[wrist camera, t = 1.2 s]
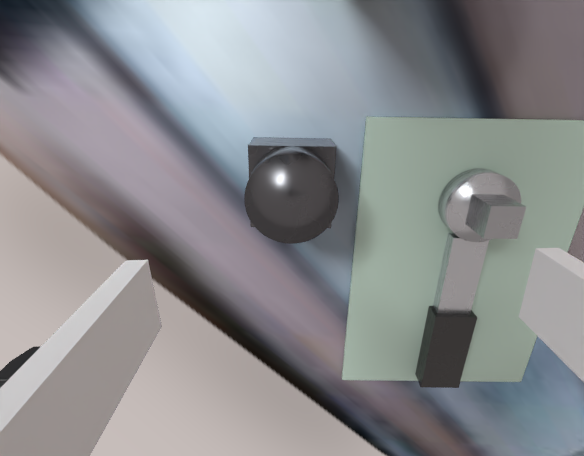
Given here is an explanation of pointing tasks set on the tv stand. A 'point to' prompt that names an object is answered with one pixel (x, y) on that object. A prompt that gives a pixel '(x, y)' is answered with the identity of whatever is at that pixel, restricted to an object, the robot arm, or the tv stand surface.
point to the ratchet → (464, 267)
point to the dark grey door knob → (291, 187)
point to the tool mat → (433, 232)
